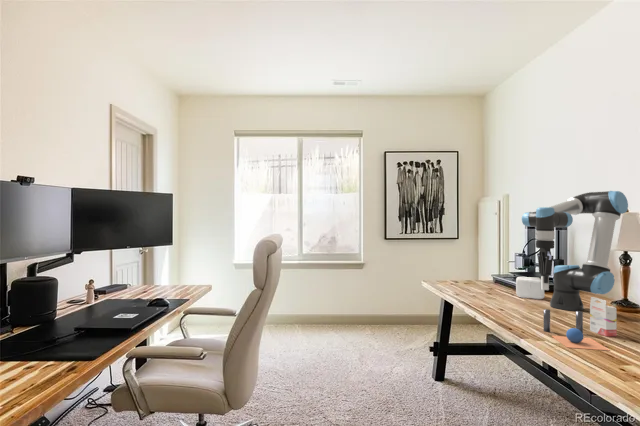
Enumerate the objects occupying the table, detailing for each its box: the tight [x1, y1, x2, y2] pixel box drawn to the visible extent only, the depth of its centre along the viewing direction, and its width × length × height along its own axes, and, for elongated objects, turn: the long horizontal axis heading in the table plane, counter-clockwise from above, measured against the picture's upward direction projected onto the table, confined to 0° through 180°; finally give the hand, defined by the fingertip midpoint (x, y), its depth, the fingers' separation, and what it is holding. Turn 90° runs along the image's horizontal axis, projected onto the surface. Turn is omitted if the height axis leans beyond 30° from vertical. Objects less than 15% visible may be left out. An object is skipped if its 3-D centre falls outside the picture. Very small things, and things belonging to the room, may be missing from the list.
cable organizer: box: [515, 276, 545, 300], centre depth 228 cm, size 15×11×12 cm
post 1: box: [543, 308, 551, 333], centre depth 158 cm, size 2×2×9 cm
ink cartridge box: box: [589, 296, 618, 337], centre depth 156 cm, size 9×5×15 cm, turn 5°
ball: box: [565, 327, 584, 343], centre depth 144 cm, size 6×6×6 cm
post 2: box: [575, 310, 584, 334], centre depth 156 cm, size 2×2×9 cm
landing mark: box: [551, 335, 611, 352], centre depth 143 cm, size 14×14×1 cm
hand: (544, 289), depth 176 cm, fingers closed
